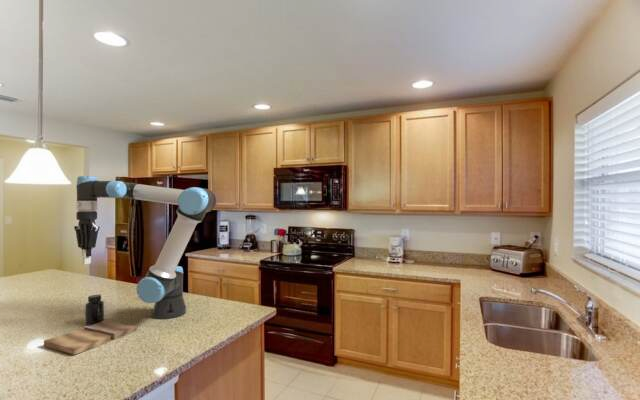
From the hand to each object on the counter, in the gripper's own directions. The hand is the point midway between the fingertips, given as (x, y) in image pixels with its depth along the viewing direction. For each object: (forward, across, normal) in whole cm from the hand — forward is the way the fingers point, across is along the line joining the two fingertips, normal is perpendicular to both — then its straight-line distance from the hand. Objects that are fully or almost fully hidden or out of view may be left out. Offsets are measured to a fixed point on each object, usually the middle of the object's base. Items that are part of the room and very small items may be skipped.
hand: (86, 263), depth 144 cm
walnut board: (+27, +18, -3) cm, 32 cm away
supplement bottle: (+27, +3, +2) cm, 27 cm away
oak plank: (+26, +18, -16) cm, 35 cm away
